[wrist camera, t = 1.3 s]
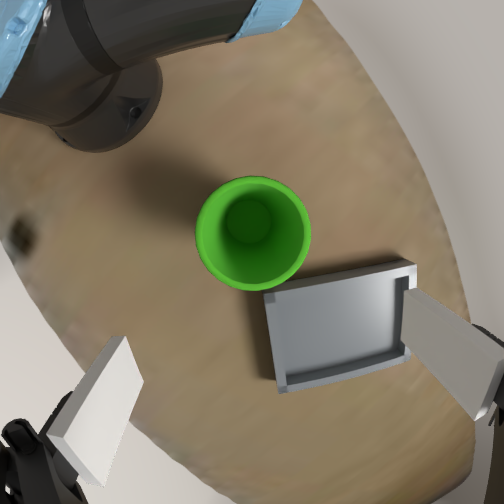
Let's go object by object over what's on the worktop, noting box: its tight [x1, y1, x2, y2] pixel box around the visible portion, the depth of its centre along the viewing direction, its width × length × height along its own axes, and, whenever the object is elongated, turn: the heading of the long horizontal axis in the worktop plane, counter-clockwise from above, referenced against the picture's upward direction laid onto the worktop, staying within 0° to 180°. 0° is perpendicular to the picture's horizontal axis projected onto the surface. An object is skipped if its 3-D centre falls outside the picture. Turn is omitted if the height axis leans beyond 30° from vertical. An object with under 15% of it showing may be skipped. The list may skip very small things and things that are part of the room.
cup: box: [195, 176, 311, 291], centre depth 28 cm, size 9×9×11 cm
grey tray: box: [262, 259, 417, 394], centre depth 35 cm, size 14×19×3 cm
